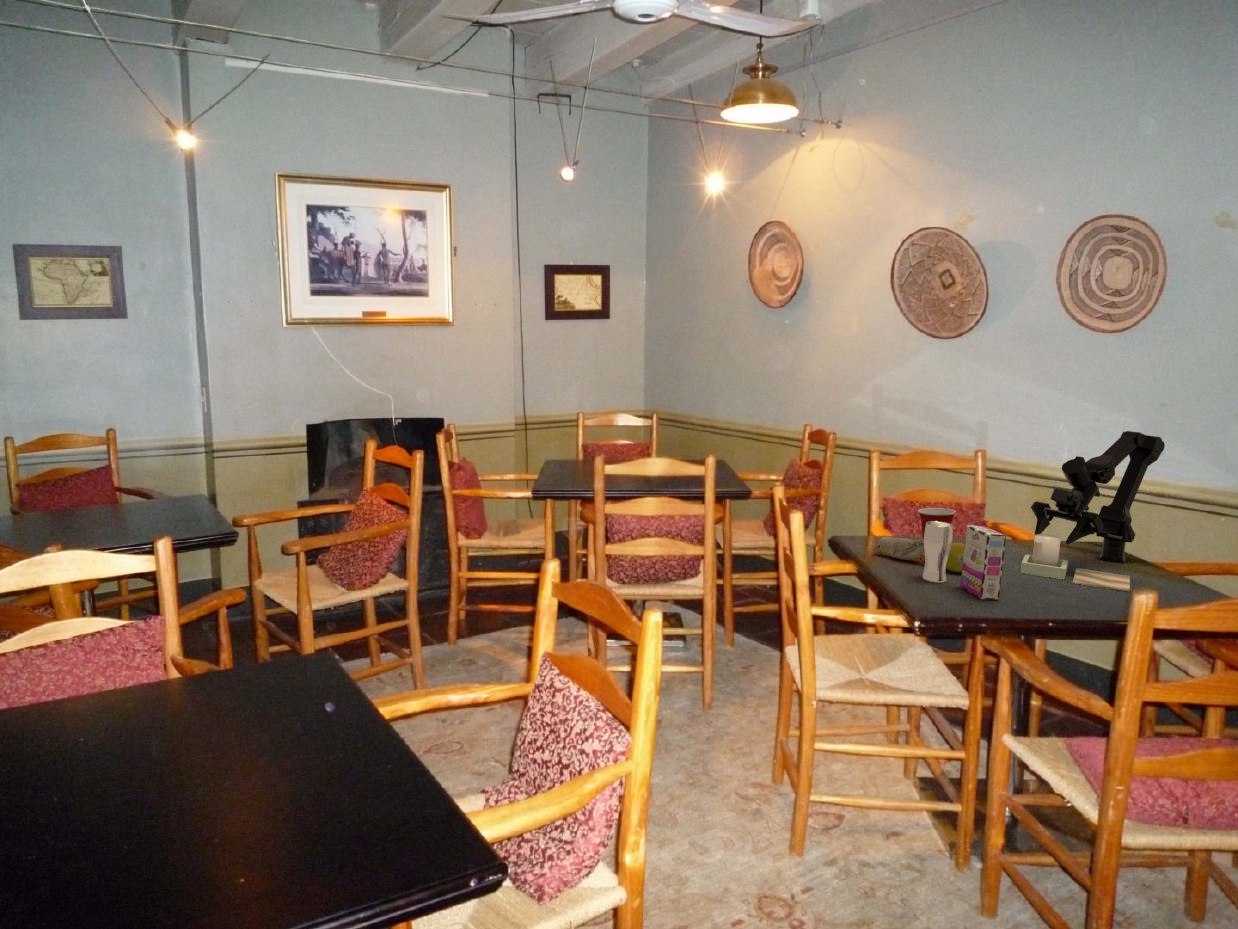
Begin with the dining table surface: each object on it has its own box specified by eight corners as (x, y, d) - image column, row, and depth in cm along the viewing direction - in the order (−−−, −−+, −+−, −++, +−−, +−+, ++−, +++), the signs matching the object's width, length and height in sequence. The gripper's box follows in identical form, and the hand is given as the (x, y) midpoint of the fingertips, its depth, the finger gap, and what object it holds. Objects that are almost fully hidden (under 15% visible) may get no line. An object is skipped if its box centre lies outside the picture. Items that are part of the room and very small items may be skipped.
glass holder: (1024, 564, 246) (1025, 554, 245) (1066, 571, 240) (1068, 560, 240) (1020, 573, 237) (1021, 562, 236) (1064, 580, 231) (1065, 569, 231)
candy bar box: (1000, 600, 211) (1007, 535, 208) (980, 600, 211) (987, 534, 208) (978, 587, 222) (984, 524, 219) (959, 586, 222) (965, 524, 219)
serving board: (1075, 570, 242) (1076, 568, 242) (1129, 578, 235) (1129, 576, 235) (1072, 583, 228) (1072, 581, 228) (1129, 592, 222) (1129, 590, 221)
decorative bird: (880, 553, 254) (882, 528, 253) (933, 565, 243) (935, 539, 242) (871, 556, 250) (873, 531, 249) (924, 568, 239) (927, 542, 238)
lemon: (935, 572, 234) (938, 543, 233) (938, 565, 241) (941, 537, 240) (978, 578, 230) (981, 549, 229) (980, 571, 237) (983, 543, 236)
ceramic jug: (1040, 567, 243) (1044, 533, 241) (1061, 573, 237) (1065, 538, 236) (1022, 571, 239) (1026, 535, 237) (1043, 577, 233) (1048, 541, 232)
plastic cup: (920, 542, 269) (924, 504, 267) (956, 548, 262) (960, 509, 261) (909, 548, 260) (913, 509, 258) (946, 555, 254) (950, 515, 252)
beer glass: (944, 576, 230) (949, 521, 228) (951, 584, 224) (957, 527, 221) (917, 575, 231) (922, 520, 229) (923, 582, 224) (929, 526, 222)
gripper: (1038, 473, 246) (1009, 513, 242) (1103, 484, 230) (1073, 528, 226) (1052, 498, 251) (1024, 538, 247) (1116, 511, 235) (1087, 554, 231)
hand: (1050, 539), depth 238 cm, fingers open, 9 cm apart
